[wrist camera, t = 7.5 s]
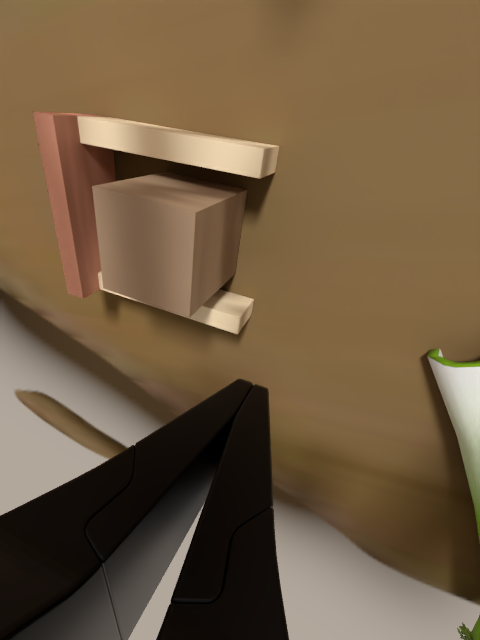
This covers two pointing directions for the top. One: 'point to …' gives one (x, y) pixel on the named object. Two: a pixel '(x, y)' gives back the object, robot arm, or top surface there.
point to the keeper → (168, 238)
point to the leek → (463, 426)
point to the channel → (99, 168)
